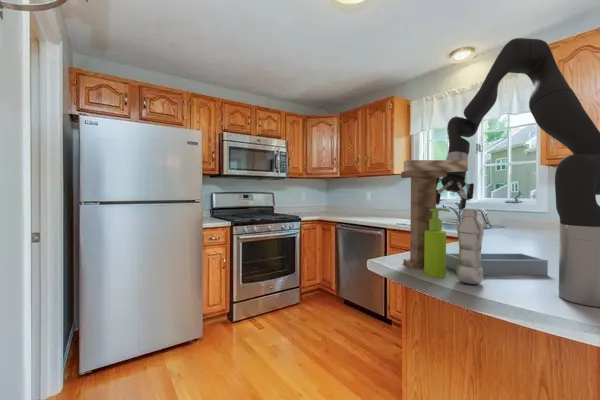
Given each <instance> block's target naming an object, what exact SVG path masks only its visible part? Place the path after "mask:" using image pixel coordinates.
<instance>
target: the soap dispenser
mask: <svg viewBox="0 0 600 400" xmlns="http://www.w3.org/2000/svg"><path fill="white" fill-rule="evenodd" d="M430 211H432V218H431V219H430V220H429V230H426V231H425V245H424V269H423V270H424V271H423V273H424V275H425V276H427V277H431V278H445V277H446V276H447V274H446V273H447V271H446V269H447V267H446V253H447V232H446V231H444V230H442V225H443V224H442V222H443V221H442V219H440V218H439V214H440V213H439V212H440V211H441V212H442V211H444V212H450V211H451V209H447V208H440V207H436V208H434V209H430Z"/></svg>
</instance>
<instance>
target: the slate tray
mask: <svg viewBox="0 0 600 400" xmlns="http://www.w3.org/2000/svg"><path fill="white" fill-rule="evenodd" d="M458 259H459V252H458V253H455V252H453V253H452V252H451V253H450V252H449V253H448V252H446V268H447V267H448V268H447V269H449V270H451V269H452V270H451V271H453V272H455V273H456V271H457V265H458ZM481 261H482V268H483V275H484V276H548V275H549V274H548V271H549V270H548V267H549V263H548V261H549V260H548V259H543V258H540V257H537V256H532V255H530V254H529V255H528V254H525V253H520V252H518V253H516V252H515V253H513V252H512V253H511V252H510V253H508V252H506V253H505V252H503V253H501V252H498V253H497V252H495V253H494V252H491V253H487V252H486V253H484V252H483V253H482V252H481Z"/></svg>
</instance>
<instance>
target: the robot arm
mask: <svg viewBox="0 0 600 400" xmlns="http://www.w3.org/2000/svg"><path fill="white" fill-rule="evenodd" d="M507 74H524V75H526V76H527V77H528V78H529V80H530V81H531V82H532V84H533V89H532V91H531V94H530V97H529V101H528V109H529V111H530V113H531V114H532V117H533V119H534V121H535V123H536V124H537V126H538V127H539V128H540V129H541V130H542V131H543V132H544V133H545V134H548V136H550V137H551V138H553V139H555V140H556V141H558V142H559V143H561V144H562V145H564V146H565V147H566V148H567V149H568V150H569V151H570V152H571V153H572V154H570V155H567V156H565V157H563V158H562V159H561V160H560V161H559V163H558V164H557V167H556V169H555V174H554V193H555V208H556V211H557V214H558V216H559V248H558V250H559V251H558V253H559V254H558V256H559V257H558V297H560V298H561V299H563V300H566V301H569V302H570V303H573V304H574V303H576V304H578V305H584V306H589V307H595V308H600V205H599V204H598V202H597V199H596V197H597V196H599V195H600V130H599V129H598V127H597V125H596V124H595V123H594V121H593V120H592V119H591V117H590V116H589V114H588V112H587V111H586V109H585V108H584V107H583V105H582V103H581V101H580V99H579V98H578V96H577V95H576V93H575V92H574V91H573V89H572V88H571V86H570V85H569V84H568V81H567V80H566V78H565V76H564V75H563V73H562V72H561V70H560V68H559V67H558V64H557V62H556V59H555V56H554V54H553V52H552V50H551V48H550V46H549V44H548V43H547V42H546V41H545V40H542V39H539V38H527V37H526V38H525V37H523V38H522V37H517V38H516V37H515V38H512V39H510V40H509V41H507V43H506V44H504V46H503V47H502V49H501V50H500V51H499V53H498V54H497V57H495V60H494V62H493V64H492V65H491V67H490V69H489V71H488V73H487V75H486V76H485V78H484V80H483V82H482V84H481V86H480V87H479V89H478V91H477V92H476V94H475V95H474V96H473V98H472V99H471V100H470V101H469V102H468V104H467V106H466V107H465V108H464V110H463V115H464V117H463V116H459V115H456V116H453V117H451V118H450V120H449V121H448V123H447V128H446V129H447V136H448V150H447V151H448V152H447V156H446V160H468V161H469V152H470V146H471V144H470V141H468V139H465V138H471V137H473V136H474V135H475V134H476V133H477V131H478V129H479V127H480V124H481V122H482V121H483V119H484V117H485V116H487V114H488V113H489V112H490V111H491V110H492V108H493V106H495V104H496V101H497V99H498V93H499V91H498V90H499V84H500V82H501V81H502V80H503V78H504V77H506V76H507ZM466 176H467V171H464V172H447V177H439V178H436V206H439V205H440V202H441V201H440V200H441V196H442V195H441V193H443V192H444V191H446V192H451V193H453V194H455V193H456V194H457V196H459V198H460V200H459V207H458V210H460V211H463V210H465V209H466V204H467V201H470V200H472V199H474V198H473V197H474V187H475V185H474V183H471V182H470V183H466ZM439 183H441V184H442V185H441V186H442V187H441V188H439V189H437V188H438V184H439ZM464 187H465V189H466V192H465V189H464Z"/></svg>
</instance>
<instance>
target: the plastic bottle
mask: <svg viewBox="0 0 600 400" xmlns="http://www.w3.org/2000/svg"><path fill="white" fill-rule="evenodd" d="M462 217H463V219H462V220H461V221H460V222H459V224H458V225H457V226H456V233H457V238H458V239H457V240H458V253H459V259H458V265H457V271H456V272H455V273H456V278H457V279H458V281H459V282H461V283H465V284H469V285H478V284H479V285H480V284H481V283H482V282H483V280H484V276H485V275H483V268H482V261H481V253H482V243H483V238H484V231H485V230H484V226H483V224H482V223H481V222H480V220H479V219H478V217H479V210H478V209H463V210H462Z"/></svg>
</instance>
